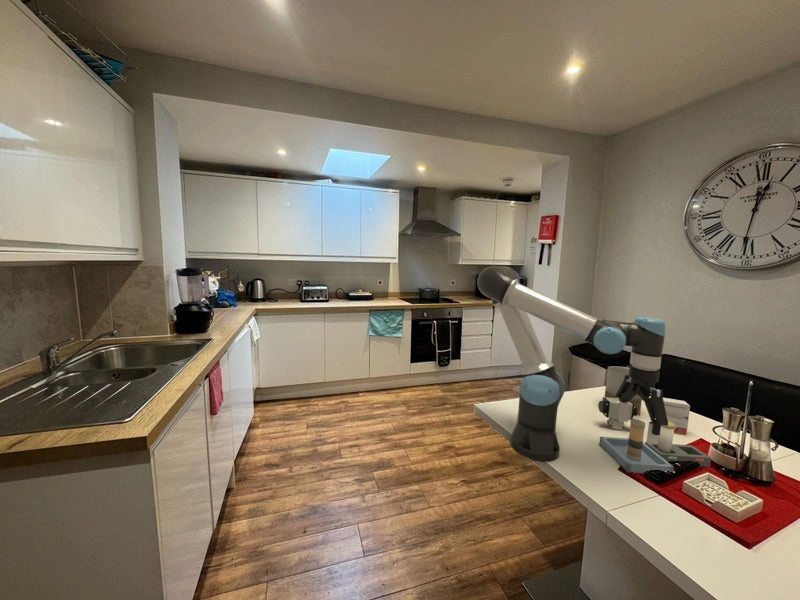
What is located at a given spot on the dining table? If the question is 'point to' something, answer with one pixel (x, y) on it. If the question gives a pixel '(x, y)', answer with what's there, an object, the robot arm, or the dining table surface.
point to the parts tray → (647, 462)
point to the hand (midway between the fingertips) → (636, 431)
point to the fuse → (666, 437)
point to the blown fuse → (635, 439)
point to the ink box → (677, 414)
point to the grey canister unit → (619, 384)
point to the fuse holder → (683, 454)
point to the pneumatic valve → (615, 412)
